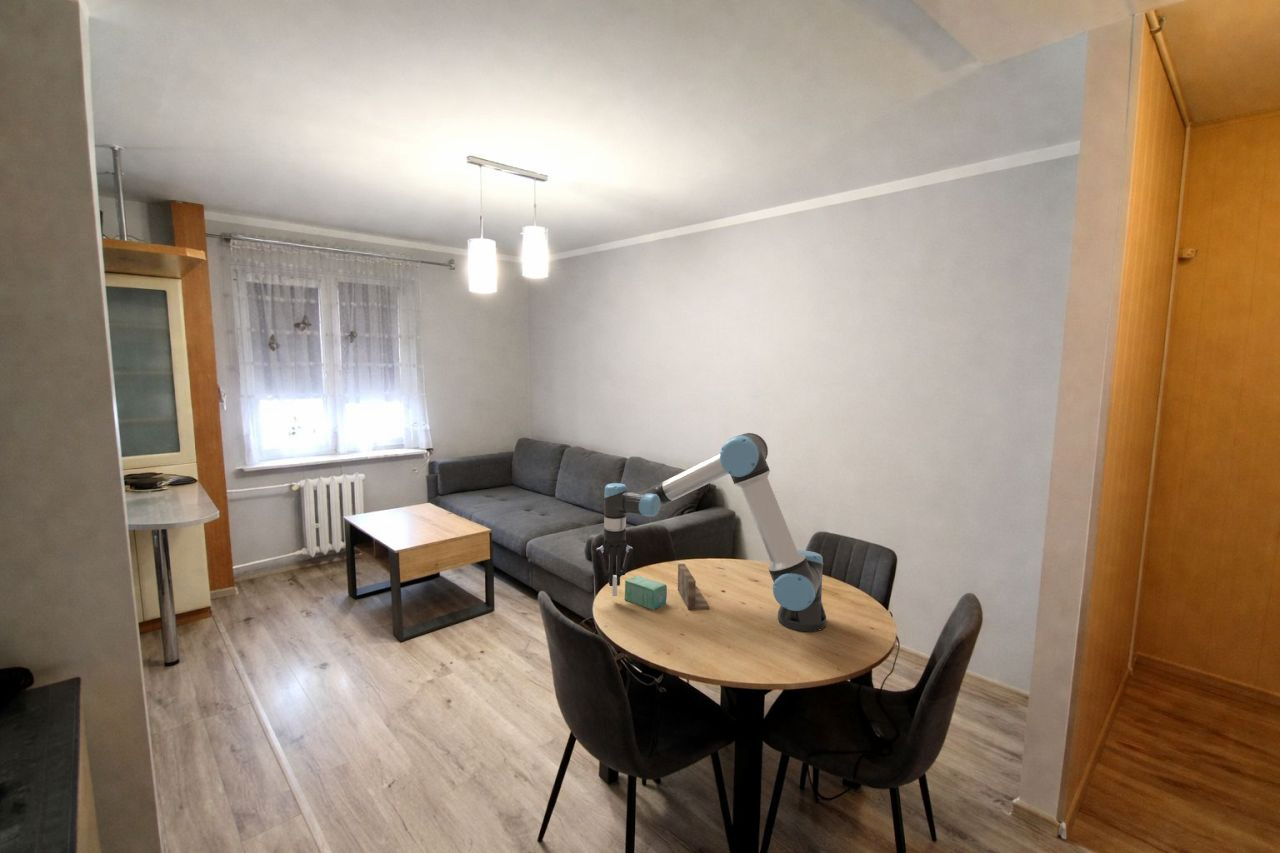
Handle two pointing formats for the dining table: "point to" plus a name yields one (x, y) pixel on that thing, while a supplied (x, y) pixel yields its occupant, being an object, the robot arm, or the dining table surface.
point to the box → (645, 592)
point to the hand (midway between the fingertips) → (614, 594)
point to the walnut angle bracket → (690, 590)
